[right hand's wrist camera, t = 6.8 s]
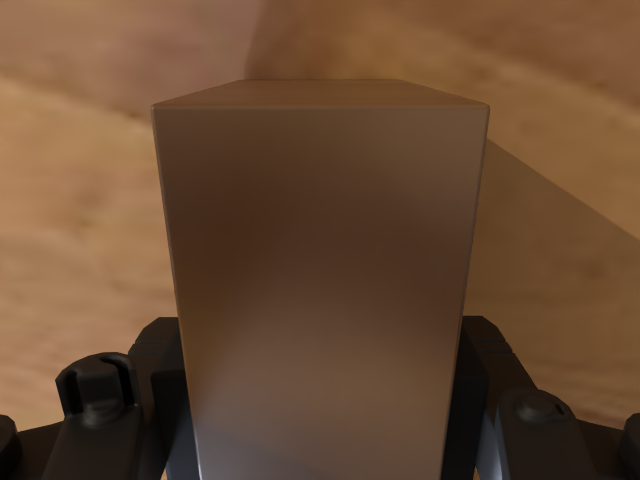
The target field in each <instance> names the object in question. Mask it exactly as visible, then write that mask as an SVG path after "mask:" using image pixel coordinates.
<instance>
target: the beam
mask: <svg viewBox="0 0 640 480" xmlns="http://www.w3.org/2000/svg"><path fill="white" fill-rule="evenodd" d="M150 112H151V119H152V127H153V134H154V141H155V149H156V156H157V164H158V171H159V179H160V186H161V194H162V201H163V208H164V216H165V223H166V231H167V238H168V246H169V253H170V261H171V268H172V275H173V283H174V290H175V298H176V305H177V313H178V320H179V328H180V335H181V342H182V350H183V357H184V365H185V372H186V380H187V387H188V395H189V402H190V409H191V417H192V424H193V432H194V439H195V447H196V454H197V462H198V469H199V476H200V480H440V479H441V472H442V465H443V457H444V450H445V442H446V435H447V427H448V420H449V412H450V405H451V398H452V390H453V383H454V375H455V368H456V360H457V353H458V345H459V338H460V331H461V323H462V316H463V308H464V301H465V293H466V286H467V278H468V271H469V264H470V256H471V249H472V241H473V234H474V226H475V219H476V211H477V204H478V197H479V189H480V182H481V174H482V167H483V159H484V152H485V144H486V137H487V130H488V122H489V115H490V107H489V105H487V104H485V103H481V102H478V101H474V100H470V99H467V98H463V97H460V96H456V95H453V94H449V93H445V92H442V91H438V90H435V89H431V88H428V87H424V86H420V85H417V84H413V83H410V82H406V81H403V80H238V81H234V82H231V83H227V84H224V85H220V86H216V87H213V88H209V89H206V90H202V91H199V92H195V93H191V94H188V95H184V96H181V97H177V98H174V99H170V100H167V101H163V102H159V103H156V104H154V105H151V109H150Z"/></svg>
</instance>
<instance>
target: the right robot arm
mask: <svg viewBox="0 0 640 480" xmlns="http://www.w3.org/2000/svg"><path fill="white" fill-rule="evenodd" d="M55 382H56V385H57V389H58V393H59V397H60V400H61V404H62V408H63V412H64V415H65V418H64V421H61V422H58V423H54V424H51V425H47V426H42V427H38V428H34V429H29V430H25V431H20V432H18V431H17V428H16V425H15V422H14V421H13V420H12V419H11V418H10V417H8V416H6V415H0V480H161V477H162V474H163V472H164V469H165V468H166V474H167V480H200V476H199V469H198V462H197V454H196V447H195V439H194V432H193V424H192V417H191V409H190V402H189V395H188V387H187V380H186V372H185V365H184V357H183V350H182V342H181V335H180V328H179V320H178V317H158V318H157V319H156V320H154V321H153V322H152V323H150V324H149V325H147V326H146V327H145V328H143V330H142V332H141V333H140V335H139V336H138V338H137V339H136V341H135V344H133V345H132V347H131V348H130V350H129V351H128V355H126V354H122V353H118V352H103V353H99V354H94V355H90V356H87V357H85V358H82V359H80V360H78V361H75V362H73V363H72V364H71V365H69V366H68V367H66V368H65V369H64V370H62V371H61V373H60V374H59V375H58V377H57V378H56V379H55ZM475 466H476V468H477V471H478V474H479V476H480V479H481V480H640V413H636V414H633V415H632V416H630V417H629V418H628V419H627V420H626V423H625V426H624V430H619V429H615V428H611V427H606V426H602V425H597V424H593V423H589V422H585V421H582V420H579V419H576V417H575V415H574V414H573V412H572V411H571V409H570V408H569V406H567V405H566V404H565V403H564V402H563V401H561V400H560V399H559V398H558V397H556V396H554V395H552V394H550V393H548V392H546V391H543V390H539V389H537V387H536V386H535V384H534V383H533V381H532V379H531V378H530V376H529V375H528V373H527V372H526V370H525V369H524V367H523V366H522V364H521V363H520V361H519V360H518V358H517V357H516V355H515V354H514V353H513V352H512V349H511V347H510V346H509V344H508V343H507V342H506V341H505V338H504V337H503V335H502V334H501V332H500V331H499V329H498V328H497V327H496V326H495V325H494V324H492V323H491V322H490V321H488V320H487V319H485V318H484V317H483V316H462V323H461V331H460V338H459V345H458V353H457V360H456V368H455V375H454V383H453V390H452V398H451V405H450V412H449V420H448V427H447V435H446V442H445V450H444V457H443V465H442V472H441V479H440V480H473V476H474V470H475Z"/></svg>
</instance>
